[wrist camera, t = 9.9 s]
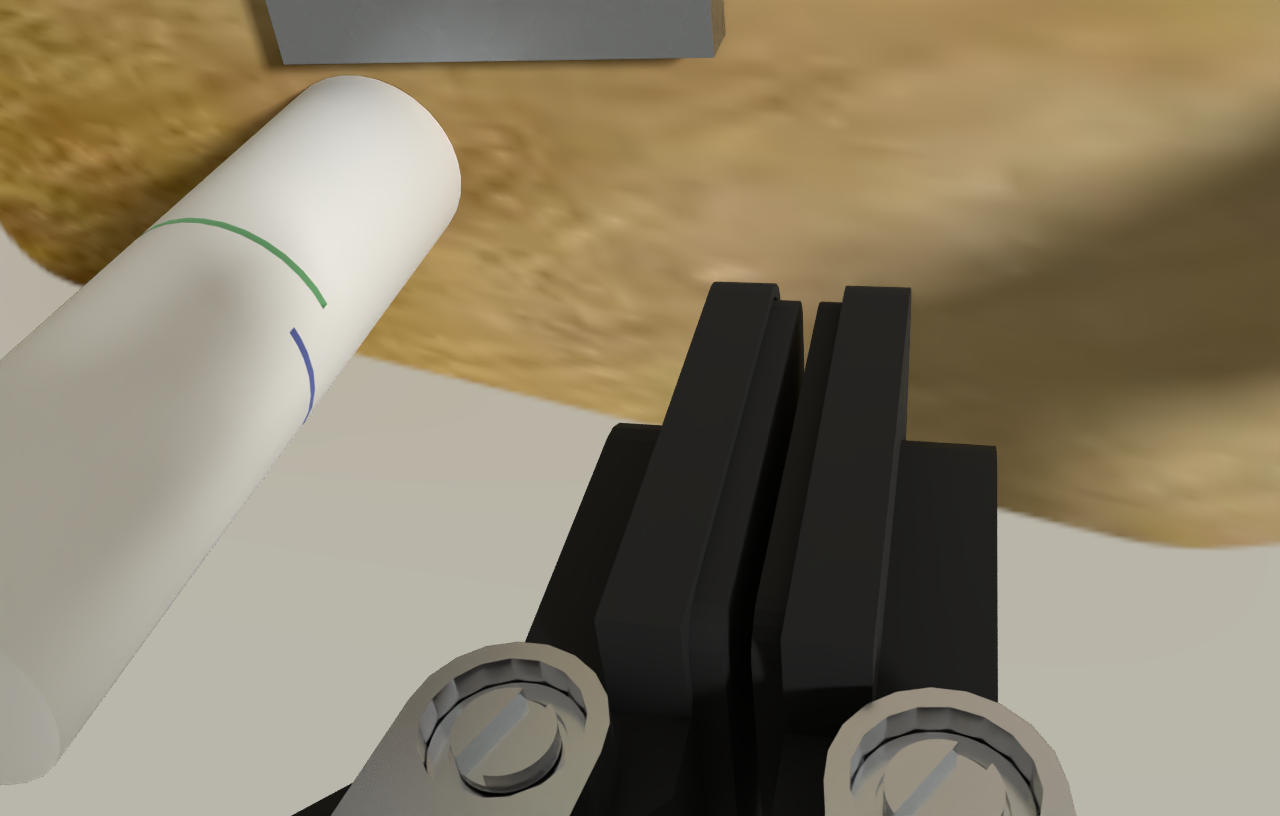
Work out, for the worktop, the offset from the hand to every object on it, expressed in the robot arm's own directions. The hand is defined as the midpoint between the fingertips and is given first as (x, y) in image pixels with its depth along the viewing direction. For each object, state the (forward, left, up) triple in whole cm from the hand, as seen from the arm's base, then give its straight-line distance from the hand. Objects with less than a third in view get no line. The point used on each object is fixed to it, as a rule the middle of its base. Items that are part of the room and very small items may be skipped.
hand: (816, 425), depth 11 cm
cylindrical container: (+4, +23, -29) cm, 37 cm away
